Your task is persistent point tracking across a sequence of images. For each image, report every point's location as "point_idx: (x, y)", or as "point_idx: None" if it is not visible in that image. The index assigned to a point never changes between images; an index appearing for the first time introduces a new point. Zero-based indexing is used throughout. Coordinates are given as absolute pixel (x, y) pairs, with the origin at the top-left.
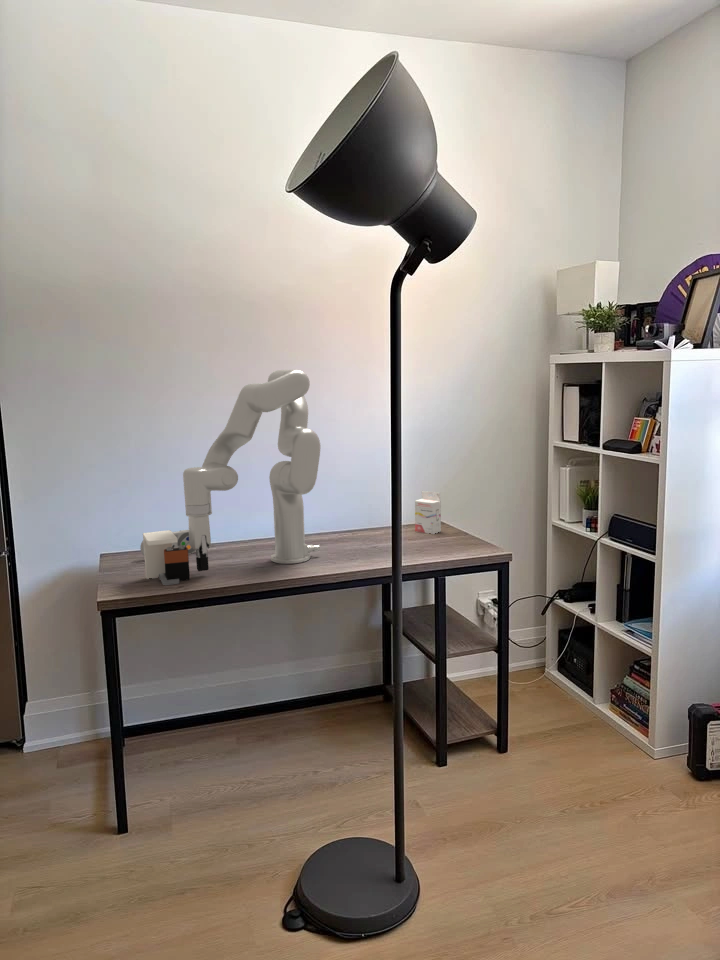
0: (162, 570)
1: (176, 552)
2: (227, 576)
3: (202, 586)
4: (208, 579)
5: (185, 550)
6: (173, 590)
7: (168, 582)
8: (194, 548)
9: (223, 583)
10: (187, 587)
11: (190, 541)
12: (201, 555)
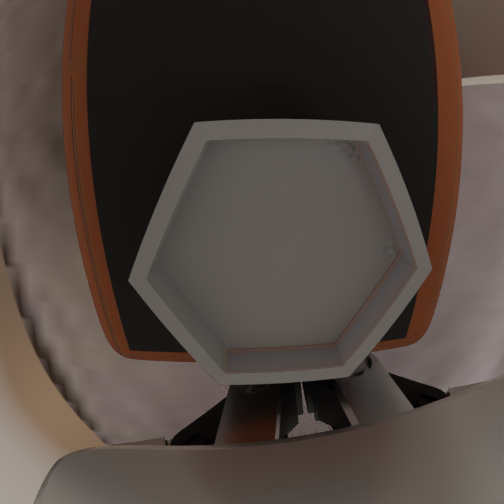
0: None
1: (64, 95)
2: (225, 397)
3: (56, 276)
4: None
5: (101, 322)
6: (15, 116)
7: None
8: (62, 459)
9: (102, 369)
10: (46, 192)
11: (440, 485)
12: (207, 420)
